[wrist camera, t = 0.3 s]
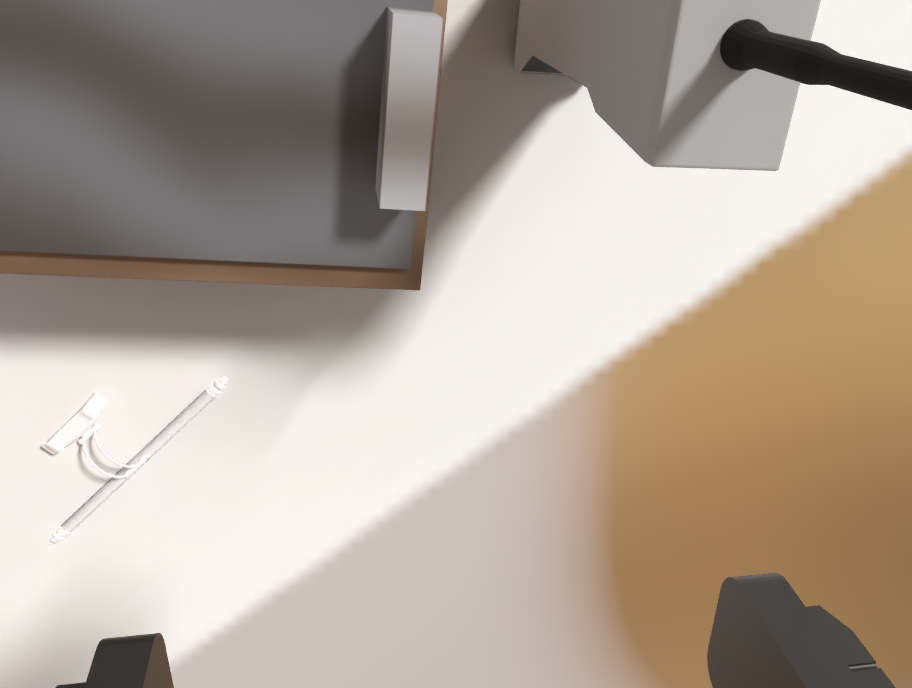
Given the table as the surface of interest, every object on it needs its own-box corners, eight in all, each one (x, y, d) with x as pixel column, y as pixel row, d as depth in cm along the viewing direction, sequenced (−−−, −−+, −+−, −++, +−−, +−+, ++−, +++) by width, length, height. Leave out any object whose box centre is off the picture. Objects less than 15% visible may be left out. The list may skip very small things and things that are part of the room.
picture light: (57, 542, 44) (45, 570, 42) (-17, 498, 42) (-32, 524, 40) (236, 375, 41) (232, 396, 39) (166, 319, 39) (158, 339, 37)
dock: (-76, -182, 29) (-259, -233, 20) (429, -115, 32) (474, -133, 23) (-18, 203, 35) (-138, 301, 26) (401, 226, 38) (428, 320, 29)
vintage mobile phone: (511, 68, 36) (825, 294, 14) (523, -59, 34) (921, -34, 12) (593, 73, 36) (1020, 295, 14) (610, -52, 34) (1146, -16, 12)
